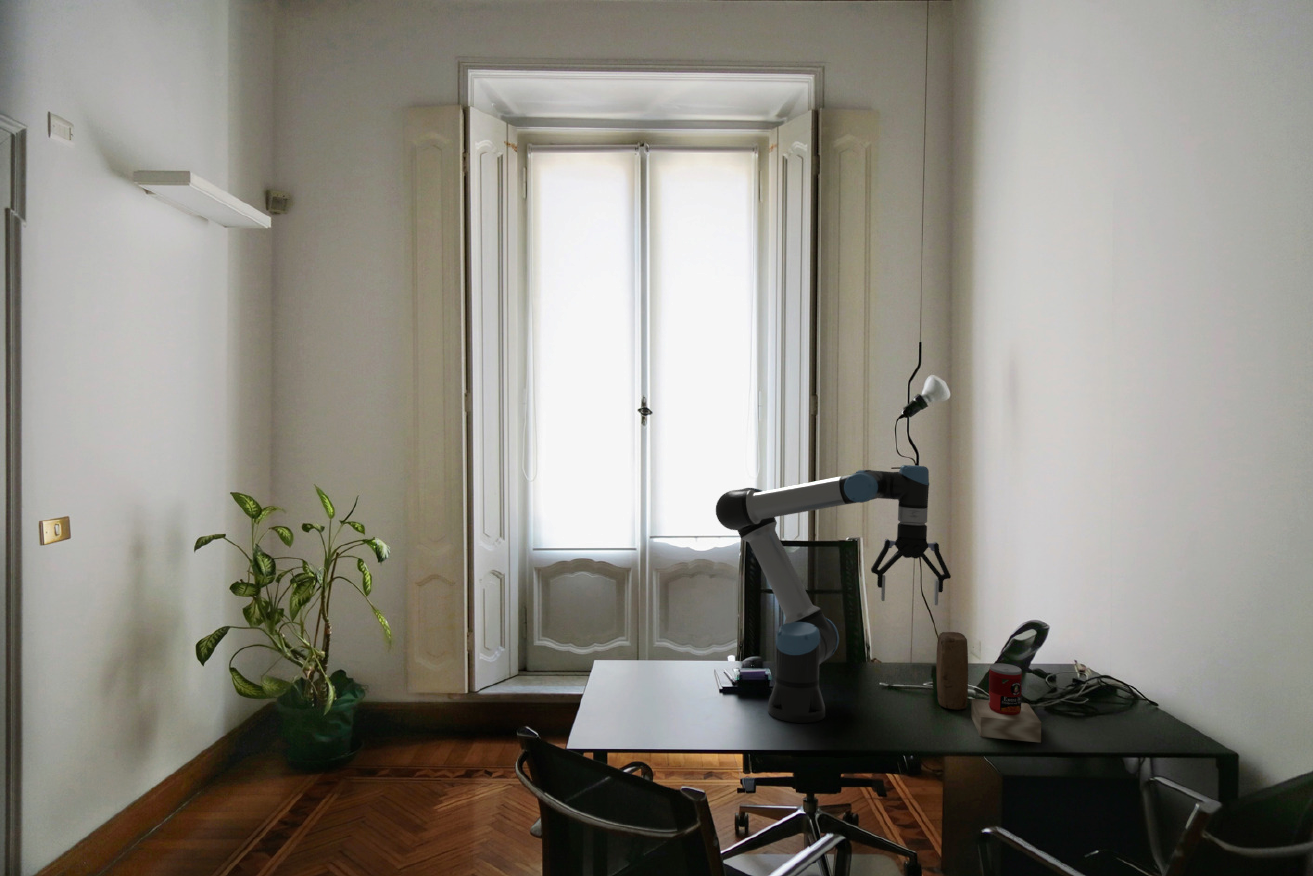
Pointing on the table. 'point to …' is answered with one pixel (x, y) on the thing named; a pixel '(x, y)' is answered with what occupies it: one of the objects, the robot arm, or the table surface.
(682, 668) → the table surface
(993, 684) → the canned food
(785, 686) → the robot arm
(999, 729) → the birch base block
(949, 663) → the block
